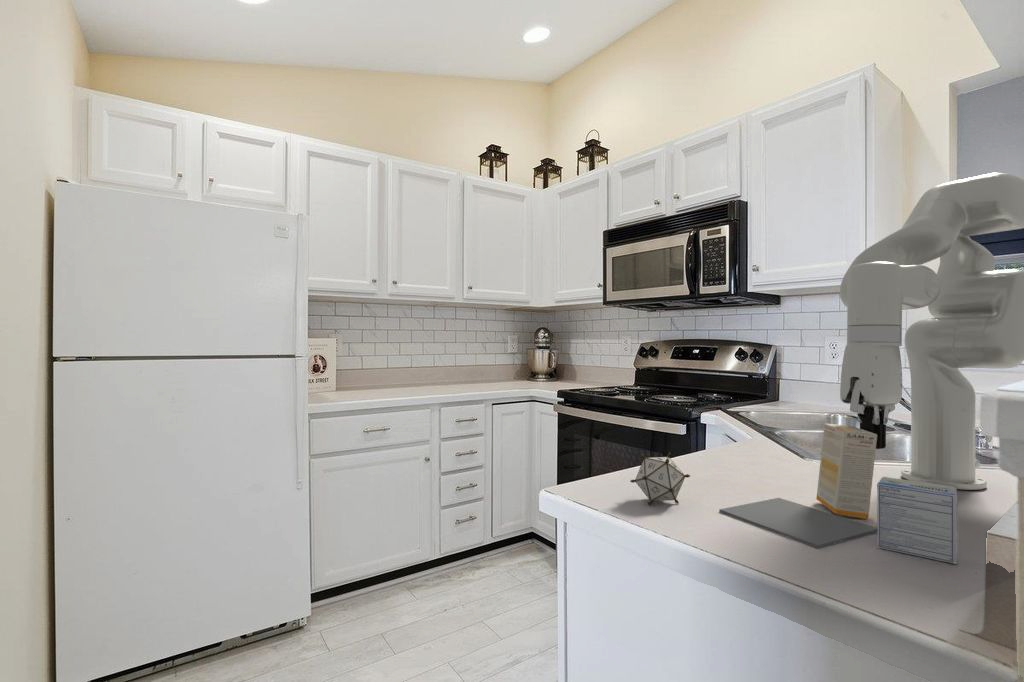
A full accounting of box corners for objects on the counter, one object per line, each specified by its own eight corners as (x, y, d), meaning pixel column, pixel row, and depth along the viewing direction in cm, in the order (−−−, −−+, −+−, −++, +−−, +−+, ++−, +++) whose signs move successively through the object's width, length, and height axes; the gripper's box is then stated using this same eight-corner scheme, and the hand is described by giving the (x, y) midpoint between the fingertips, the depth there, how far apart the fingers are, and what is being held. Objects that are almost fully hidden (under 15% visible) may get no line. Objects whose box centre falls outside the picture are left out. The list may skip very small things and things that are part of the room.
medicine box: (957, 555, 65) (957, 486, 65) (956, 566, 62) (956, 494, 62) (881, 539, 70) (881, 475, 70) (876, 548, 67) (876, 482, 67)
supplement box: (870, 520, 77) (879, 434, 77) (834, 515, 78) (844, 429, 78) (846, 503, 85) (855, 425, 85) (814, 499, 86) (823, 421, 86)
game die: (647, 524, 86) (611, 473, 88) (674, 497, 91) (639, 449, 93) (683, 512, 79) (642, 457, 81) (710, 483, 84) (671, 432, 86)
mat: (778, 500, 87) (778, 497, 87) (880, 531, 73) (880, 528, 73) (719, 511, 81) (719, 509, 81) (818, 548, 67) (818, 545, 67)
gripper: (875, 338, 93) (874, 440, 92) (823, 336, 86) (822, 446, 86) (924, 338, 86) (923, 448, 86) (871, 335, 79) (870, 455, 79)
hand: (872, 447), depth 86 cm, fingers closed
